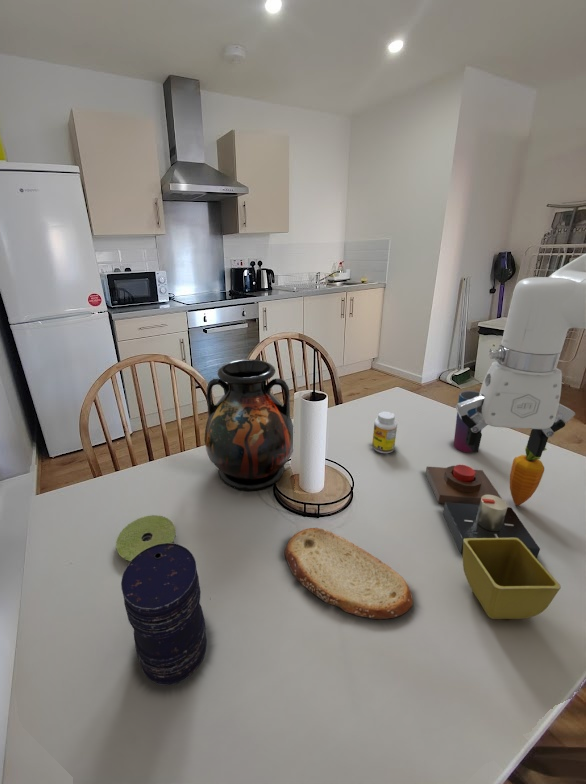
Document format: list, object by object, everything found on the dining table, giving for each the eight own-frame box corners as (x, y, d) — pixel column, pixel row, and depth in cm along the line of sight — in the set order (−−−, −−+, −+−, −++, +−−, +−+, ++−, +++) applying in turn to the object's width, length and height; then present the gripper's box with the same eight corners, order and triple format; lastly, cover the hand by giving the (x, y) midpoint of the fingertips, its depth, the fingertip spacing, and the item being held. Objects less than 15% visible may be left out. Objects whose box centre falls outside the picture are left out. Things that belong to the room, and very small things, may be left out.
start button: (469, 471, 79) (471, 465, 79) (476, 483, 76) (478, 476, 75) (450, 470, 80) (451, 464, 80) (456, 481, 77) (457, 475, 76)
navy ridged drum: (213, 671, 49) (203, 595, 43) (139, 698, 46) (118, 621, 41) (200, 604, 58) (191, 534, 52) (138, 624, 55) (121, 553, 50)
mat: (138, 580, 62) (136, 572, 62) (107, 546, 70) (105, 539, 69) (188, 540, 70) (187, 533, 69) (155, 514, 77) (154, 507, 76)
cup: (485, 454, 91) (497, 401, 86) (458, 454, 91) (469, 402, 86) (470, 439, 97) (480, 389, 92) (444, 440, 98) (454, 390, 92)
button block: (480, 477, 83) (484, 463, 81) (500, 508, 74) (505, 493, 72) (425, 473, 85) (427, 459, 84) (438, 503, 76) (441, 488, 74)
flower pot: (452, 577, 60) (462, 537, 57) (506, 577, 59) (518, 536, 56) (483, 632, 52) (496, 588, 48) (545, 632, 51) (563, 588, 48)
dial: (495, 516, 68) (501, 494, 66) (505, 532, 64) (512, 509, 62) (472, 514, 69) (477, 492, 67) (481, 530, 65) (487, 507, 63)
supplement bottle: (368, 444, 98) (371, 411, 94) (386, 441, 99) (390, 408, 95) (378, 455, 93) (382, 421, 89) (398, 452, 94) (402, 418, 90)
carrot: (505, 493, 78) (521, 434, 72) (533, 504, 74) (553, 442, 69) (499, 505, 75) (516, 444, 69) (528, 517, 71) (549, 454, 66)
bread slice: (422, 612, 55) (425, 595, 53) (310, 636, 52) (310, 619, 51) (366, 525, 71) (368, 510, 70) (279, 540, 69) (279, 525, 67)
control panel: (507, 519, 71) (511, 506, 70) (535, 561, 62) (540, 548, 61) (442, 513, 73) (445, 501, 72) (460, 553, 64) (463, 540, 63)
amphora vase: (199, 500, 80) (185, 387, 70) (217, 447, 100) (208, 352, 90) (295, 504, 78) (296, 387, 67) (294, 449, 97) (294, 352, 87)
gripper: (476, 365, 54) (455, 459, 61) (608, 368, 51) (572, 467, 57) (458, 350, 61) (441, 435, 68) (574, 352, 58) (545, 442, 64)
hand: (502, 450), depth 62 cm, fingers open, 9 cm apart
